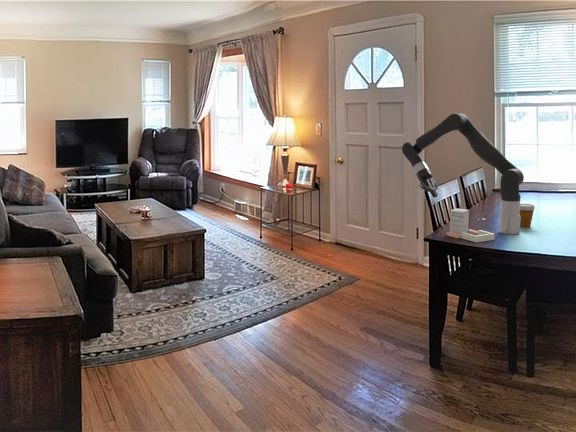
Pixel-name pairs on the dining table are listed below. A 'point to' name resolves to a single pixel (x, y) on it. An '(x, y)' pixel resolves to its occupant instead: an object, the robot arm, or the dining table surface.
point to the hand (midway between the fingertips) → (435, 196)
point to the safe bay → (479, 236)
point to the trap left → (454, 234)
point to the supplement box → (459, 221)
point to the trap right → (473, 232)
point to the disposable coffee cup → (526, 215)
